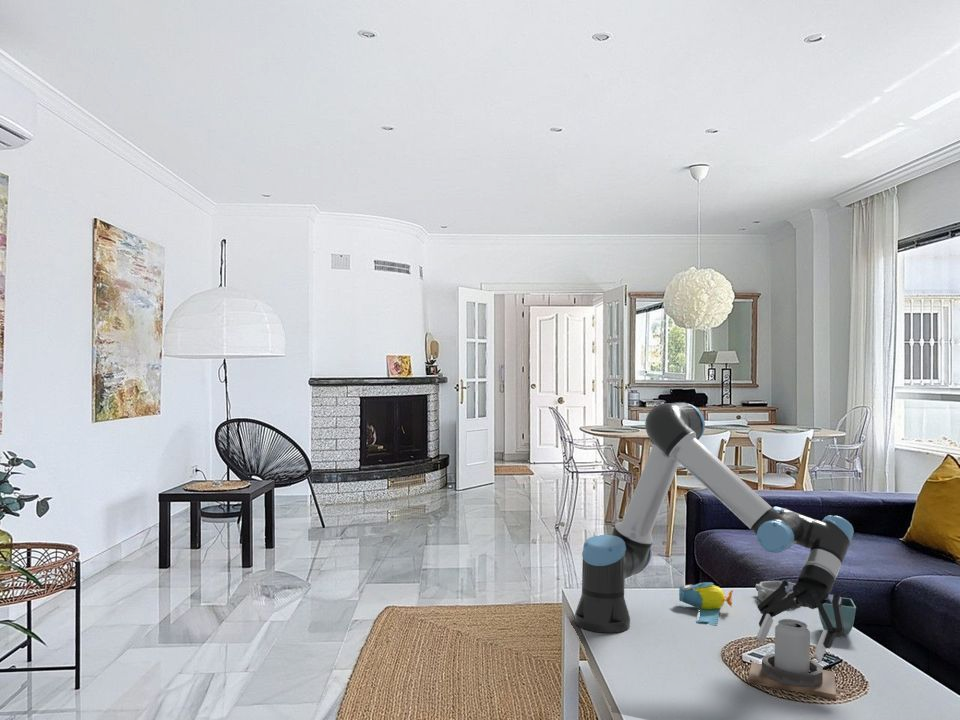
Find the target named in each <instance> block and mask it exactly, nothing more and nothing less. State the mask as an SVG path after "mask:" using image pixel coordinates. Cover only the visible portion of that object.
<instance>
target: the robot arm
mask: <svg viewBox="0 0 960 720" xmlns="http://www.w3.org/2000/svg"><path fill="white" fill-rule="evenodd" d="M644 426H645V431H646V435H647V436H648V438H649V443H650V446H651V449H650V453H649V455H648V457H647V460H646V462H645V465H644V467H643V470H642V472H641V475H640V477H639V480H638V482H637V484H636V487H635V489H634V492H633V494H632V498H631V499H630V502H629V505H628V507H627V509H626V511H625V514H624V517H623V520H622V521H619V522H616V523H615V525H614V527H613V530H612V532H611V534H600V535H593V536H590V537H588V538H587V539H586V540H585V541H584V542H583V547H582V551H581V552H582V553H581V554H582V555H581V557H582V567H581V568H582V570H581V572H582V573H581V575H582V576H581V595H580V598H579V601H578V604H577V607H576V609H575V613H574V623H575V624H576V625H577V626H578V627H580V628H582V629H583V630H587V631H591V632H596V633H607V634H608V633H609V634H610V633H611V634H612V633H620V632H624V631H627V630H628V629H630V627H631V616H630V612H629V609H628V606H627V603H626V600H625V580H626V579H628V578H629V577H632V576H634V575H637V574H640V573H641V572H643V571H644V570H645V569H646V567H648V565H649V564H650V562H651V560H652V555H653V553H652V552H653V551H652V550H653V549H652V545H653V542H654V538H653V535H652V530H653V528H654V526H655V523H656V521H657V519H658V516H659V514H660V512H661V509H662V508H663V507H662V506H663V505H664V501H665V500H666V497H667V495H668V492H669V490H670V488H671V485H672V482H673V480H674V477H675V475H676V473H677V470H678V468H679V466H680V465H682V466H683V467H684V468H685V469H686V470H687V471H688V472H689V473H690V474H691V475H692V476H693V477H694V478H695V479H697V480H698V481H699V482H700V484H702V485H703V486H704V487H705V488H706V489H707V490H708V491H709V492H710V493H711V494H712V495H713V496H714V497H715V498H716V499H718V500H719V501H720V502H721V503H722V504H723V505H724V506H725V507H726V509H727V508H728V509H729V511H730V512H732V513H733V515H735V516H736V517H737V518H738V519H739V520H740V521H741V522H742V523H743V524H744V525H745V526H747V527H748V529H750V530H751V531H752V532H753V533H754V534H755V535H756V538H757V541H758V544H759V546H760V547H761V548H762V549H764V550H765V551H767V552H769V553H773V554H774V553H781V552H785V551H787V550H789V549H790V548H791V547H792V546H794V544H795V545H798V546H800V547H801V546H802V547H804V548H807V549H810V550H809V552H808V555H807V557H806V559H805V561H804V563H803V565H804V566H802V568H801V570H800V573H799V575H798V579H797V582H796V583H795V585H791V584H788V582H789V581H787V580H783V582H782V581H781V582H782V584H781V585H780V587H779V588H778V589H777V590H775V591H774V592H773V593H772V594H771V595H769V596H768V597H767V598H766V599H765V600H764V601H760V603H759V604H757V607H756V608H757V610H758V611H759V612H760V614H761V617H760V620H759V622H758V626H759V629H758V632H757V635H756V638H757V641H758V642H759V643H760V644H762V645H764V643H765V641H766V638H767V636H768V634H769V632H770V630H771V627H772V625H773V623H774V619H773V618H774V617H776V616H778V615H780V614H782V613H783V612H785V611H788V610H789V609H790V608H795V607H799V606H800V607H803V608H806V607H807V608H809V609H811V610H815V609H818V610H819V611H818V613H819V612H820V614H821V616H822V618H823V620H824V622H825V624H826V627H827V629H828V631H827V630H824V629H823V630H822V632H821V635H820V637H819V640H818V642H817V646H816V648H815V649H814V653H813V656H814V658H815V659H816V661H817V662H818V663H821V662H822V661H823V657H824V655H825V653H826V649H828V650H829V649H831V648H832V645H833V642H834V640H835V638H836V637H842V638H846V637H845V636H846V633H845V628H844V622H843V617H842V612H841V605H842V599H841V598H842V597H841V595H840V593H838V592H835V593H833V594H831V592H832V590H833V588H834V584H835V583H836V581H835V580H837V577H838V574H839V573H840V569H841V567H842V564H843V562H844V559H845V557H846V555H847V553H848V551H849V549H850V548H849V547H850V545H851V542H852V539H853V537H854V533H855V531H854V527H853V524H852V523H850V522H849V520H847V519H845V518H844V517H842V516H840V515H839V516H838V515H831V514H830V515H826V516H825V517H824V518H823V519H822V520H819V519H815V518H812V517H809V516H807V515H804V514H802V513H798V512H795V511H792V510H790V509H788V508H784V507H779V506H773V507H772V506H771V505H770V504H769V503H768V502H767V501H765V500H764V499H763V497H761V496H760V495H759V494H758V493H757V492H756V491H754V489H752V488H751V486H749V485H748V484H747V483H746V482H745V481H744V480H743V479H741V478H740V477H739V476H738V475H737V474H736V473H735V472H734V471H732V469H730V468H729V467H728V466H727V465H726V464H725V463H724V462H723V461H722V460H721V459H719V458H718V457H717V456H716V455H715V454H714V453H713V452H712V451H711V450H709V448H708V447H706V446H705V445H704V444H703V443H702V442H701V441H700V439H701V437H702V436H703V435H704V432H705V430H706V429H705V428H706V422H705V417H704V415H703V414H702V412H701V411H700V409H698V408H697V407H696V406H694V405H693V404H690V403H687V402H683V401H682V402H681V401H678V402H671V403H668V402H663V403H660V404H657V405H656V406H654V407H652V409H651V410H650V411H648V413H647V415H646V417H645V423H644ZM791 591H793V593H791V594H790V592H791ZM787 594H789V595H788V596H787V597H786V598H784V597H785V596H786V595H787ZM783 598H784V599H783ZM794 598H796V600H795V601H794ZM829 600H830V601H831V603H832V605H833V610H834V616H835V621H836V627H837V628H833V626H832V624H831V622H830V619H829V617H828V615H827V613H826V611H825V609H824V607H823V604H824V603H826V602H828V601H829ZM798 605H799V606H798ZM793 606H794V607H793Z"/></svg>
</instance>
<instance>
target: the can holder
mask: <svg viewBox="0 0 960 720" xmlns="http://www.w3.org/2000/svg"><path fill="white" fill-rule="evenodd" d="M761 659H762V664H757V663H754V662H752V661H751V664H750V667H749V668H750V669H749V672H748V676H747V684H752V685H757V686H758V685H759V686H763V687H769V688H772V689H773V688H774V689H779V690H783V689H784V691H789V690H790V692H794V691H795V693H799V692H801V693H800V694H805V693H806V694H807V695H810V696H811V695H812V696H817V697H822V698H827V699H832V700H837V691H836V690H837V689H836V676H835V671H831V670H827V669H823V668H824V667H823V666H822V665H821V664H819V662H818V661H817V662H816V661H815V660H813V659H810V666H809V670H810V671H811V673H793V672H788V671H783V670H781V669H778V668H775V667H774V661H775V653H769V654H767V655H766V654H765V655H763V656H762V658H761Z"/></svg>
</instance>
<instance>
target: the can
mask: <svg viewBox="0 0 960 720" xmlns="http://www.w3.org/2000/svg"><path fill="white" fill-rule="evenodd" d="M777 622H778V624H777V625H776V626H775V627H774V654H775V661H774V667H775V668H778V669H781V670H783V671H788V672H793V673H809V666H810V660H811V656H810V654H811V653H810V652H811V632H810V630H809V629H808V624H807V623H805V622H803V621H800V620H796V619H790V618H789V619H788V618H782V619H779V620H778V621H777Z"/></svg>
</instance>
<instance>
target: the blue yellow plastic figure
mask: <svg viewBox="0 0 960 720" xmlns="http://www.w3.org/2000/svg"><path fill="white" fill-rule="evenodd" d="M678 591H679V593H678V595H679V597H678V598H679V599H678V600H679V602H682V603H684V604H688V605H689V606H692V607H695V608H698V609H699V610H700V611H699V612H700V617H699V620H697V619H696V620H695V621H696V624H702V623H704V624H703V625H707V624H709V626H718V624H719V618H720V613H721V612H720V611H721V608H722V607H724V604H725V601H726V603H727V604H728V605H729V606H730V607H731V608H732V607H733V601H732V600H733V592H734V591H733V590H730V591H729V592H728V594H727V595H725V594H724V592H723V589H722V588H720V586H717V585H715V584H714V583H713V582H707V581H706V582H704V581H703V582H698V583H695V584H693V583H692V584H689V583H688V584H685V585H683V586H682V585H680V586H679V589H678ZM701 622H702V623H701Z"/></svg>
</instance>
